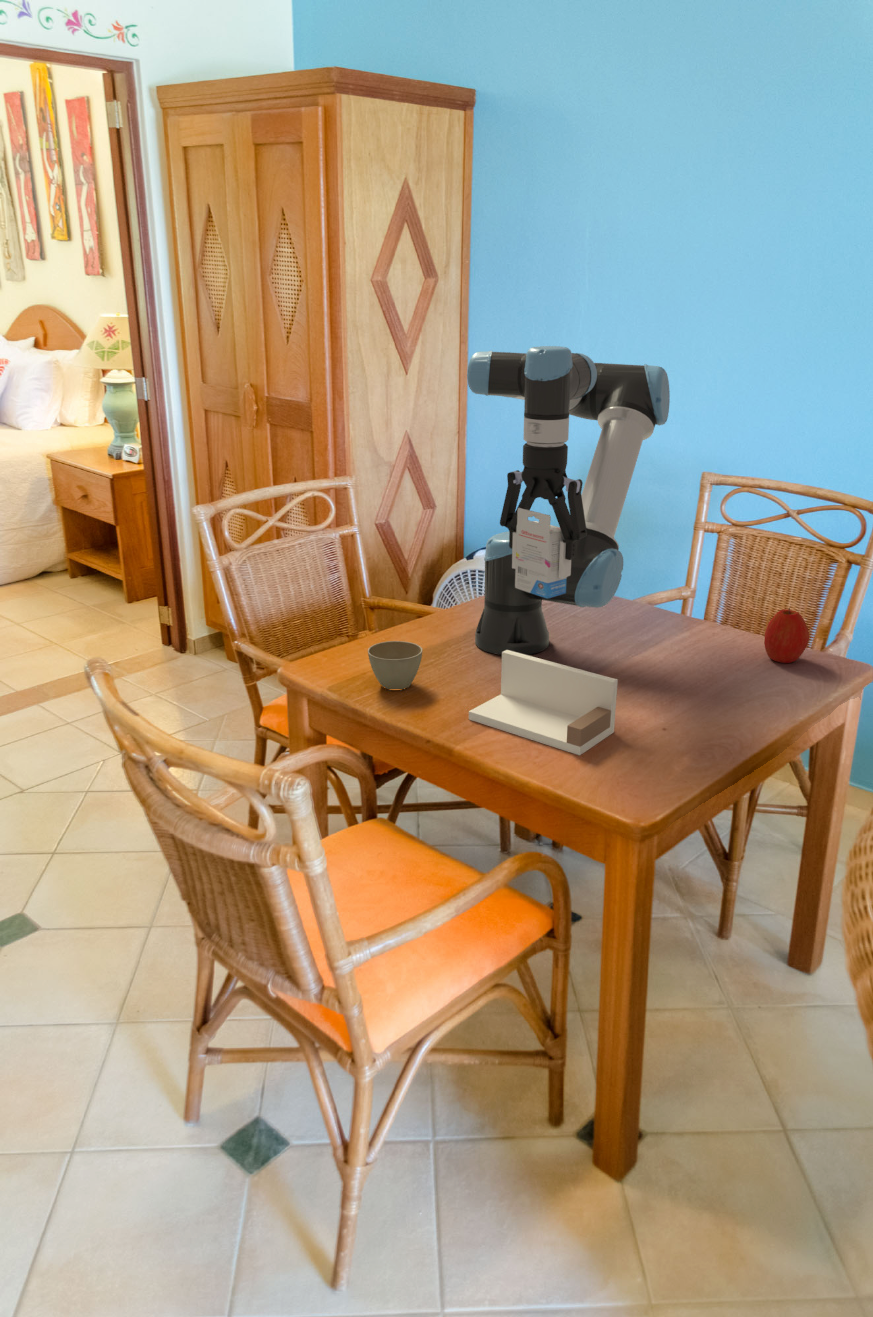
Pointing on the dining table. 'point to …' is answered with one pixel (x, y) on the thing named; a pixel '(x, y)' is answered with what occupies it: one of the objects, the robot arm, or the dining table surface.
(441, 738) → the dining table surface
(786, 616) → the apple
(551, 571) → the ink box
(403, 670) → the flower pot
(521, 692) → the shelf
